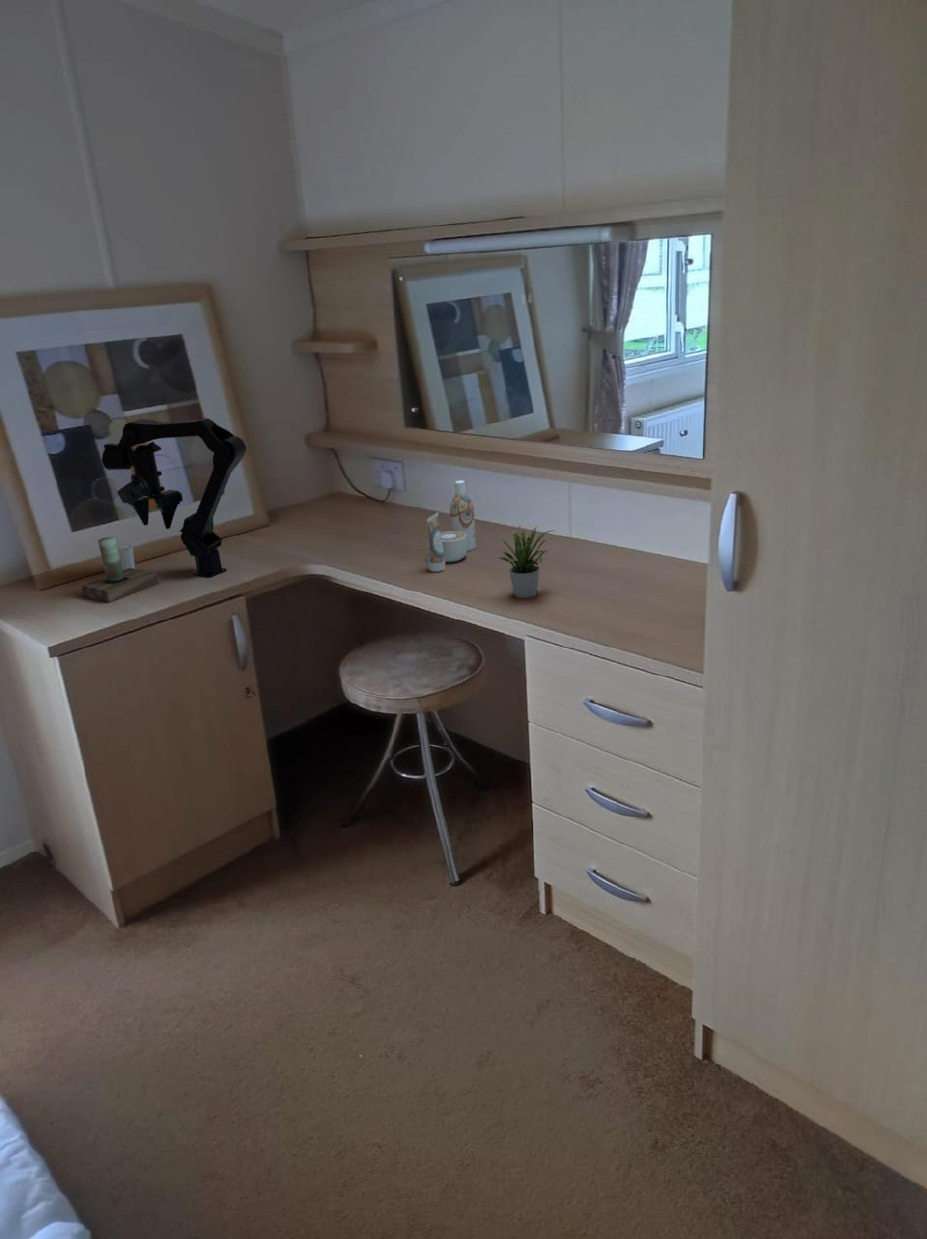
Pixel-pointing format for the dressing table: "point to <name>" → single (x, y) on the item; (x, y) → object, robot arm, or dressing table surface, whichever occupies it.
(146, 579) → the board
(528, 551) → the house plant
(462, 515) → the cosmetic set
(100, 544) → the peg
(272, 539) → the dressing table surface
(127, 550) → the shot glass
